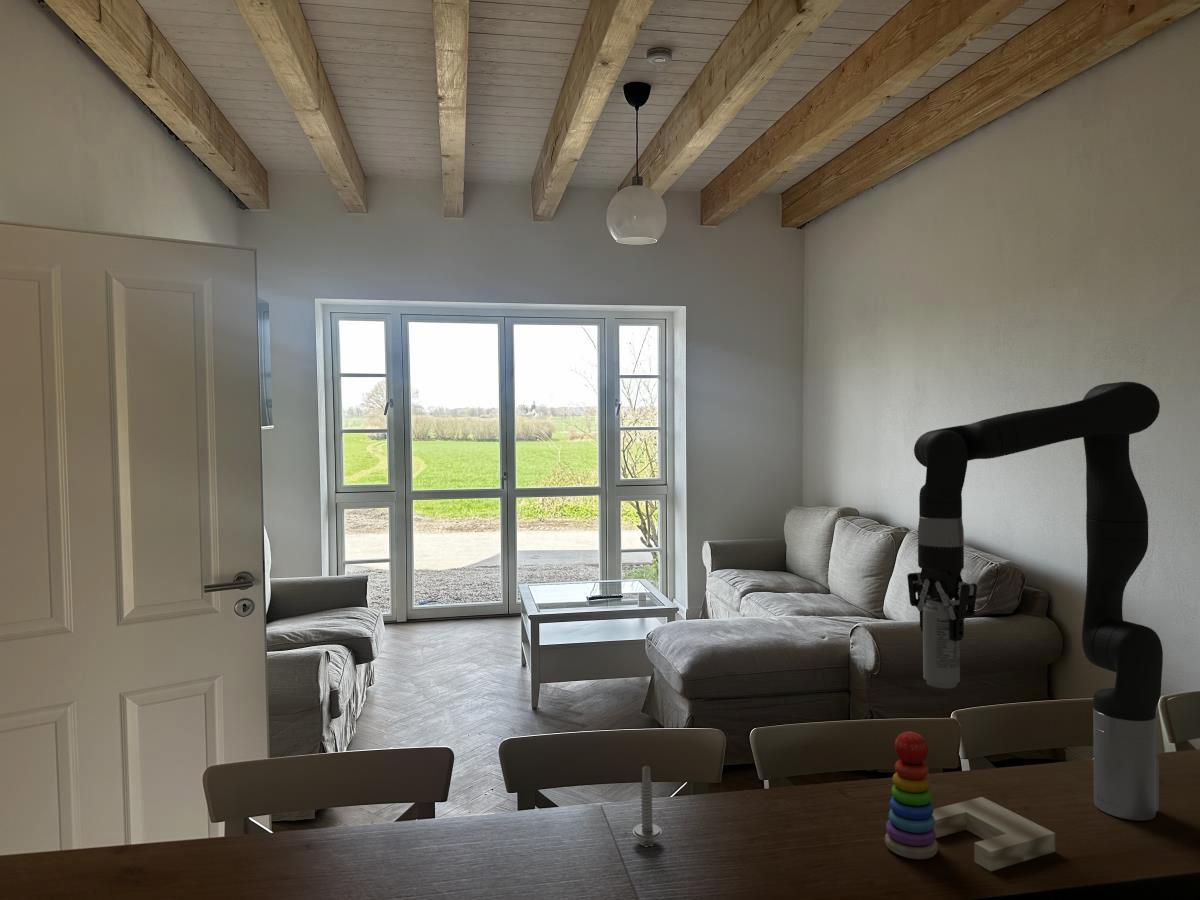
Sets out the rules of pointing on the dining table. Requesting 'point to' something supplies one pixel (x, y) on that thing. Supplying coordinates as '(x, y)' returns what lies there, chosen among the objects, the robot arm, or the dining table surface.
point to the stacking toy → (911, 801)
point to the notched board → (995, 832)
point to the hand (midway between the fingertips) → (941, 635)
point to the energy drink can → (939, 647)
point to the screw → (646, 813)
